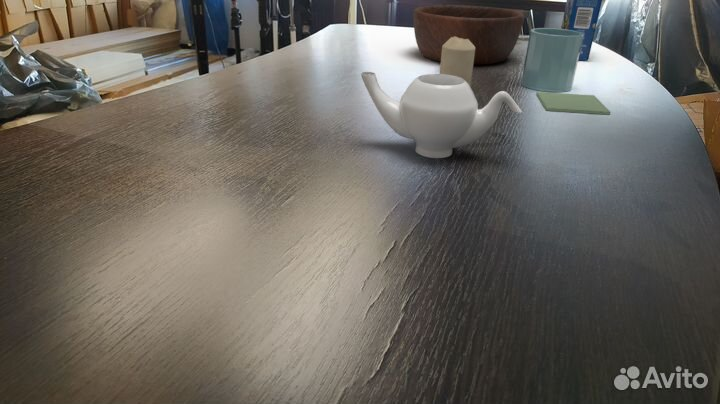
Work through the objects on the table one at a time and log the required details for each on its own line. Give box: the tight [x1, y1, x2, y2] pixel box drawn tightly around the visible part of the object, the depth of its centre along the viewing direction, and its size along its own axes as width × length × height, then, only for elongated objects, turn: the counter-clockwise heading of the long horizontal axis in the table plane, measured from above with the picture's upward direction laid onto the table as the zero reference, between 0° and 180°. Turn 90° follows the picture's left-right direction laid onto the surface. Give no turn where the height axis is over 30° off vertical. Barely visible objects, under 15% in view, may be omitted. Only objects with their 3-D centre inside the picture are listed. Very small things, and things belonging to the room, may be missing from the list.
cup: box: [521, 27, 584, 93], centre depth 94 cm, size 9×9×10 cm
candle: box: [439, 36, 475, 88], centre depth 86 cm, size 6×6×10 cm
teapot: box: [360, 71, 523, 159], centre depth 62 cm, size 10×20×9 cm, turn 74°
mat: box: [535, 91, 611, 116], centre depth 85 cm, size 10×10×1 cm
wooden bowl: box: [412, 4, 525, 66], centre depth 117 cm, size 25×25×10 cm
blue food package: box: [560, 0, 603, 61], centre depth 118 cm, size 6×12×25 cm, turn 166°
